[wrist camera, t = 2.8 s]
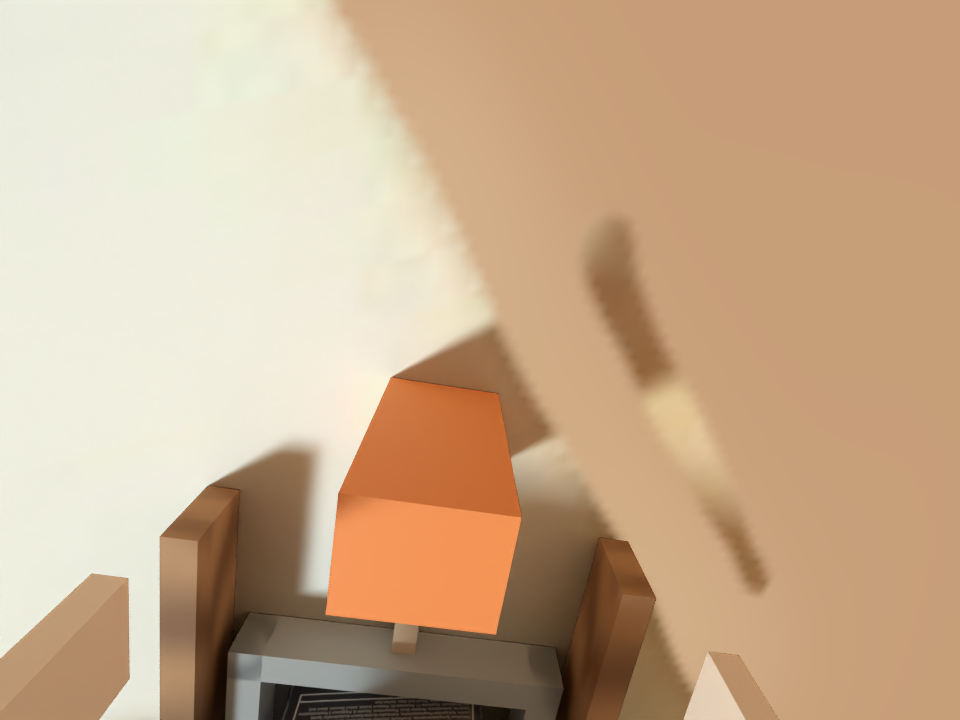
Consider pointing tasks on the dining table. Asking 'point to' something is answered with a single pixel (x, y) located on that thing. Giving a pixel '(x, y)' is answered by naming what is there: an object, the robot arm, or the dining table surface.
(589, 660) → the shelf lane
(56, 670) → the robot arm
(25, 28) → the dining table surface
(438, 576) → the grey and orange frame
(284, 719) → the small box
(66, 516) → the dining table surface
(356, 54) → the dining table surface
